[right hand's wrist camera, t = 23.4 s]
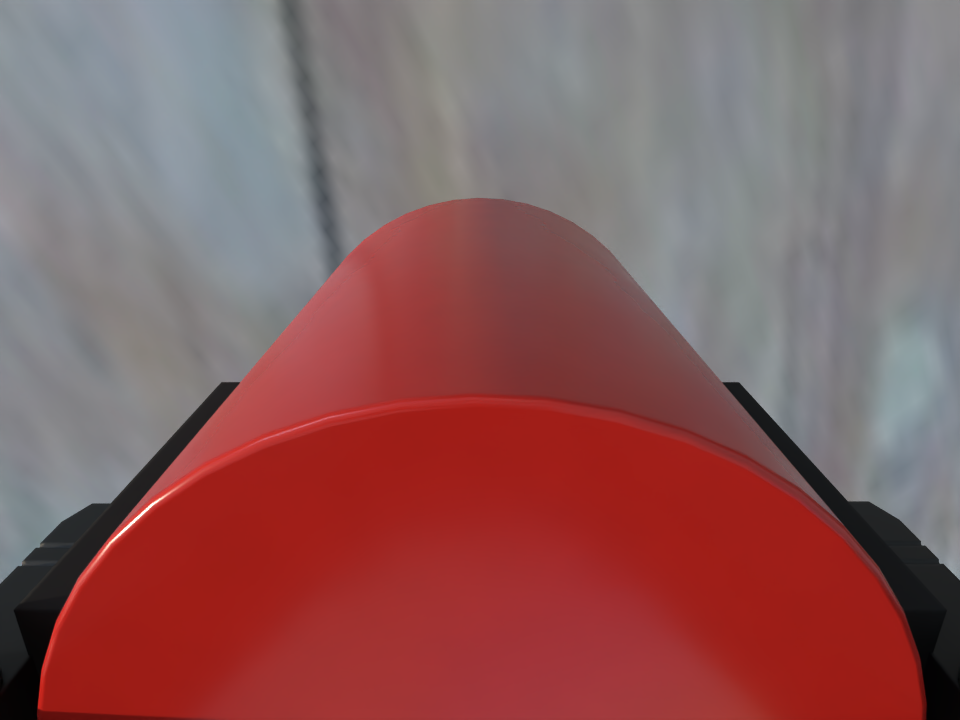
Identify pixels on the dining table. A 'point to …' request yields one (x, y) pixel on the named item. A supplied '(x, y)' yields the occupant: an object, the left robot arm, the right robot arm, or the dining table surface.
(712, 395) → the canister
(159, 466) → the right robot arm
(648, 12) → the dining table surface
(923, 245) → the dining table surface
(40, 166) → the dining table surface
